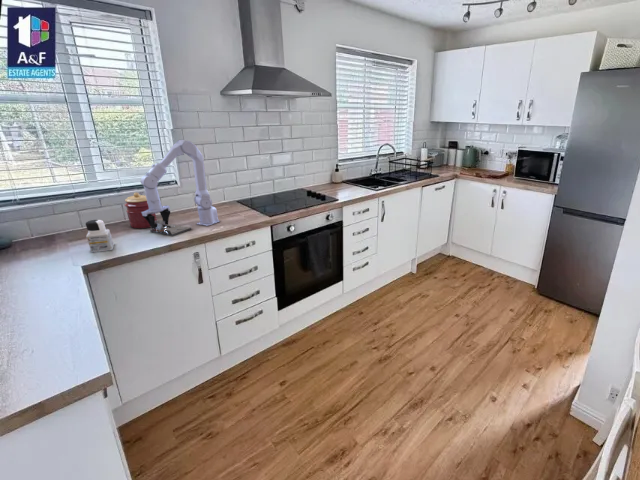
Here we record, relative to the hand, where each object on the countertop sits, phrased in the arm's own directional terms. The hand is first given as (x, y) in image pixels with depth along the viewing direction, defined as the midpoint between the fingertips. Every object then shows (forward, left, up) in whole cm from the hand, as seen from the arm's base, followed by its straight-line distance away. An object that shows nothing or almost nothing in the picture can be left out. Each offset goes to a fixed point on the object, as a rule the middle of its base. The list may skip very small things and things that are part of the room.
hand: (160, 226), depth 191 cm
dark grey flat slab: (-3, +3, -3) cm, 5 cm away
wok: (0, +2, -2) cm, 3 cm away
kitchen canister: (-4, -17, -3) cm, 17 cm away
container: (+29, -3, -3) cm, 29 cm away
